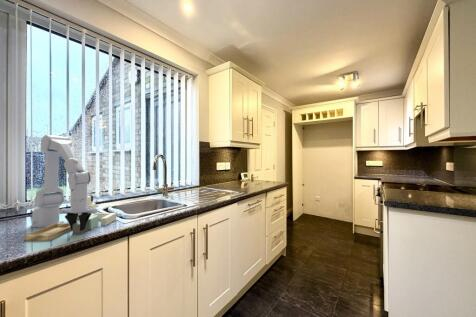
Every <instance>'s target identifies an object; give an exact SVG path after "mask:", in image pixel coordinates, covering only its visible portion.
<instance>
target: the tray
mask: <svg viewBox="0 0 476 317" xmlns="http://www.w3.org/2000/svg"><path fill="white" fill-rule="evenodd" d="M71 231H72V230H71V227H70V224H69V222H62V223H55V224H52V225H50V226H47V227H41V228H40V229H38V230H35V231H32V232H30V233H27V234H24V236H23V241H24V242H29V241H30V242H31V241H34V242H37V241H38V242H39V241H41V242H44V241H53V240H55V239H57V238H60V236H63V235H65V234H67V233H69V232H71Z"/></svg>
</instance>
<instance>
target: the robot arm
mask: <svg viewBox="0 0 476 317" xmlns="http://www.w3.org/2000/svg"><path fill="white" fill-rule="evenodd" d="M72 146H73V140H72V139H71V137H70V136H60V135H59V136H58V135H49V134H45V135H44V136H42V138H41V140H40V150H41V151H40V152H42V153H44V176H43V177H44V182H43V184H44V185H43V187H41V188H40V189H37V190H36V193H35V196H34V205H35V206H36V207H35V208H34V209H33V211H32V212H31V213H32V214H31V215H32V216H31V225H30V227H31V228H45V227H47V226H50V225H52V224H55V223H65V220H60V215H65V214H66V215H65V216H64V219H66V220H67V223H69V224H70V227H71V231H72V232H73V224H75V223H77V222H78V220H79V221H80V231H82V230H84V229H85V227H86V224H87V221H88V219H89V217H90V216H91V214H96V213H98V208H97V207H96V208H87V195H88V184H90V182H91V179H92V178H91V174H90V171H87V170H86V169H84V167H83V165H82V164H81V162H80V160H79V159H78V158H75V156H74V153H73V151H72ZM59 156H60V157H61V158H62V159H63V160H64V162H63V167H64V169H65V171H66V173H67V174H68V177H67V182H68V185H69V186H68V187H69V190H70V206H69V207H70V208H69V207H67V208H60V206H62V205H63V203H64V202H65V198H66V197H65V193H64V192H65V191H64V189H63V188H61V187H60V186H59ZM78 214H81V215H78ZM78 217H79V219H77V218H78Z"/></svg>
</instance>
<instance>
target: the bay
mask: <svg viewBox="0 0 476 317" xmlns="http://www.w3.org/2000/svg"><path fill="white" fill-rule="evenodd" d="M91 215H99V221H100V226H101V225H102V226H107V224H108V225H110V224H111V223H112V221H113V222H115V221H116V220H117V213H116V212H97V213H96V214H91ZM115 219H116V220H115Z"/></svg>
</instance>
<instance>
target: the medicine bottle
mask: <svg viewBox="0 0 476 317" xmlns="http://www.w3.org/2000/svg"><path fill="white" fill-rule="evenodd" d="M87 208H96V209H97V207H96V202H94V196H93V195H91V194H87ZM78 215H81V214H78ZM77 220H79V217H78V218H77Z"/></svg>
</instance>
